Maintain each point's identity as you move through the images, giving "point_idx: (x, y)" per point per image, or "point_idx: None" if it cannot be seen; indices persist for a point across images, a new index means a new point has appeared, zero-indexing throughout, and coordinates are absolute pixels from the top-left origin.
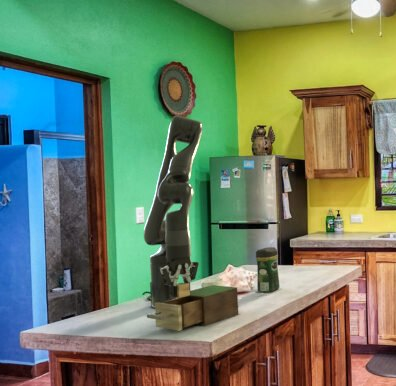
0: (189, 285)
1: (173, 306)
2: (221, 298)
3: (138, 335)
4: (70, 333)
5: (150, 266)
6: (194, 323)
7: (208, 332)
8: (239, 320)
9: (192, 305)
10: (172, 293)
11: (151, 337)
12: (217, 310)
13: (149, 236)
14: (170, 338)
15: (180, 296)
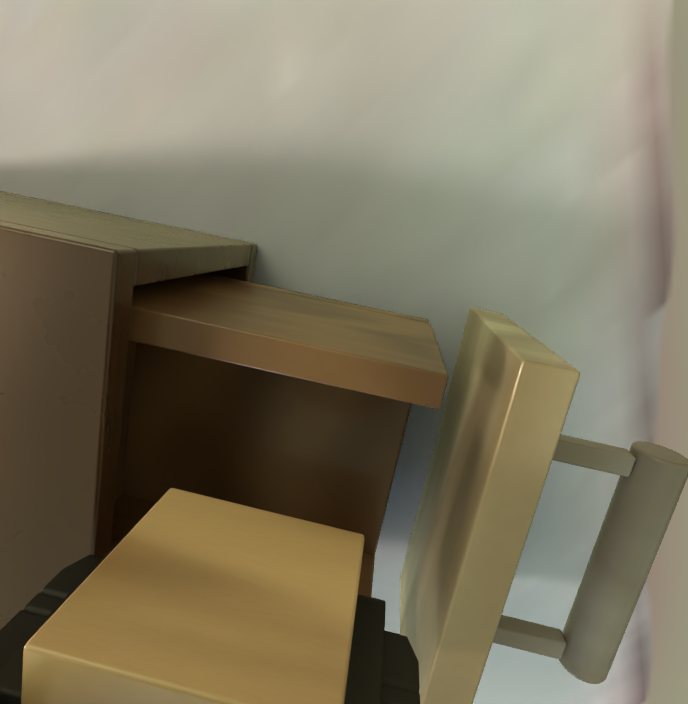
0: (3, 646)
1: (548, 461)
2: None
3: (571, 602)
4: None
5: None
6: (322, 298)
7: (419, 63)
8: (41, 23)
9: (301, 332)
10: (414, 690)
11: (609, 474)
12: (59, 211)
13: None
14: (621, 299)
15: (343, 542)
